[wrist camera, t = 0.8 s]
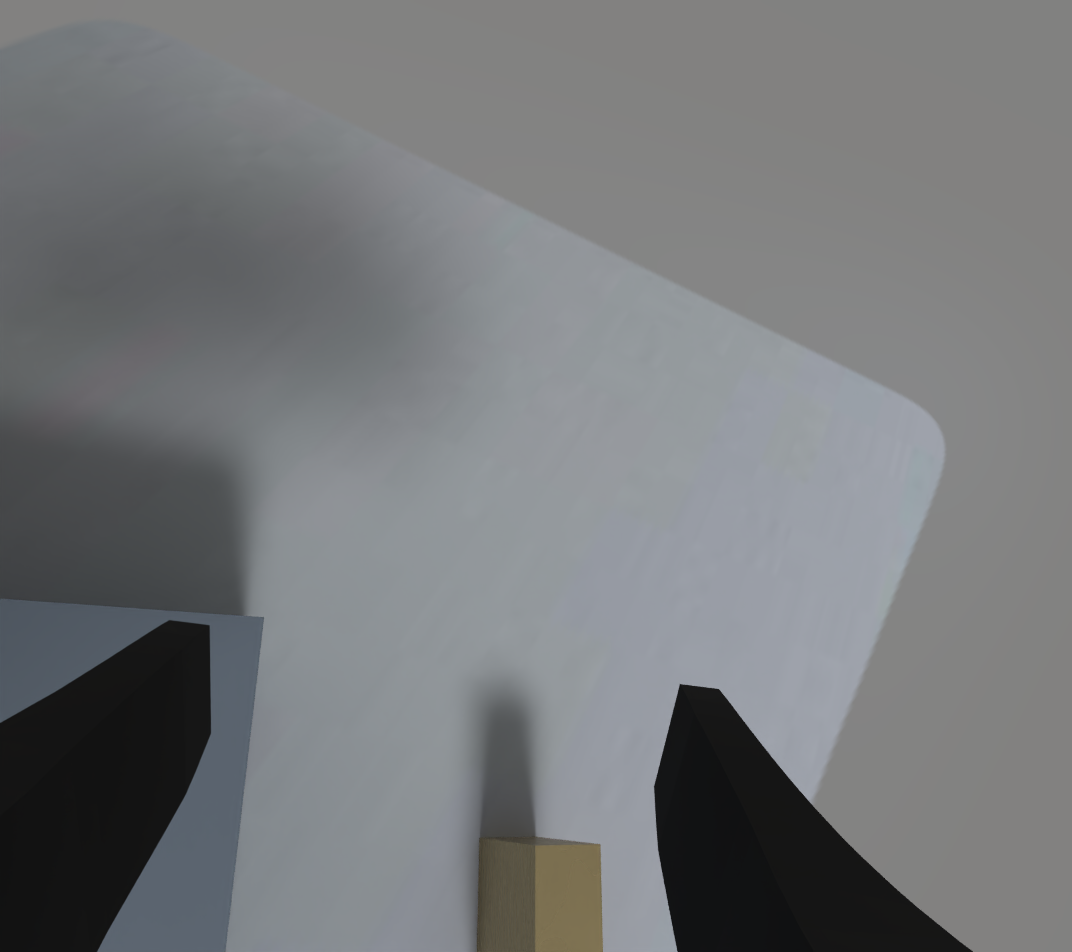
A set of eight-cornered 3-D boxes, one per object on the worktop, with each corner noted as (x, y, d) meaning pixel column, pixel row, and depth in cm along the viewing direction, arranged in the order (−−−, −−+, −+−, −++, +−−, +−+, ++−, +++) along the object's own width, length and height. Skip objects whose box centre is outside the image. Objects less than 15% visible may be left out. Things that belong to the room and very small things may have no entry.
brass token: (535, 1008, 27) (605, 1048, 23) (475, 1013, 26) (535, 1057, 22) (535, 836, 29) (600, 844, 24) (479, 837, 28) (535, 845, 24)
